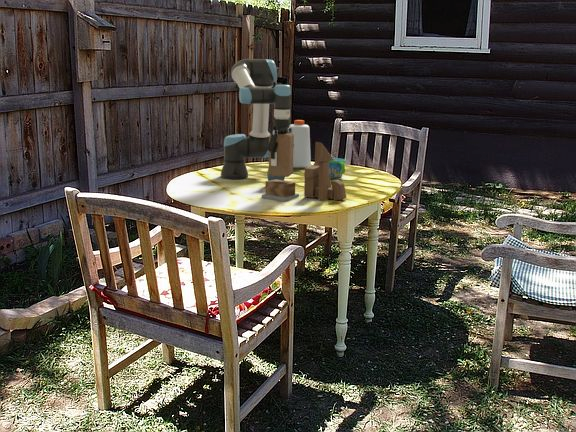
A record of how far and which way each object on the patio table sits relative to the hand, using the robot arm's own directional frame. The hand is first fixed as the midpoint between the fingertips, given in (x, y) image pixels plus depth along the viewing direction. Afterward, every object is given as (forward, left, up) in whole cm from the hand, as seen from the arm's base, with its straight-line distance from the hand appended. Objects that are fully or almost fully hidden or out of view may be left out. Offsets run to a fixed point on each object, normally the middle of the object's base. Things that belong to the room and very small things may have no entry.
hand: (281, 164), depth 319 cm
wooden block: (0, 0, -6) cm, 6 cm away
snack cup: (-5, +64, -16) cm, 66 cm away
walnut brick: (0, 0, -15) cm, 15 cm away
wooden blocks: (+18, +15, -17) cm, 29 cm away
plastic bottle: (-41, +82, -16) cm, 93 cm away
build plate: (0, 0, -16) cm, 16 cm away
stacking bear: (-17, +22, -16) cm, 32 cm away
